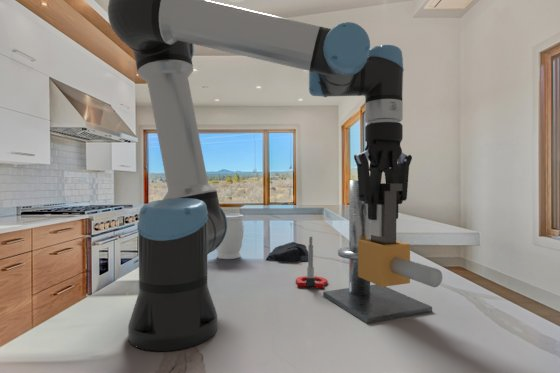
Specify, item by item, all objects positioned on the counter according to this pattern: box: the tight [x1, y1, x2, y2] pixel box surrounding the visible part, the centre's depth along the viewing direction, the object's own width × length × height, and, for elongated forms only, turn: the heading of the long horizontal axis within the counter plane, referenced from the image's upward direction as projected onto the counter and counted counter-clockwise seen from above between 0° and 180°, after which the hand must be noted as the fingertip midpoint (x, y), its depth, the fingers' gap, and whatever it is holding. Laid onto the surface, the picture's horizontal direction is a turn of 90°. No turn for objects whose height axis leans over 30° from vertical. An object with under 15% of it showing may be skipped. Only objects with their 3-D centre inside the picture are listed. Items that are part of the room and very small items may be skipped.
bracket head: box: [358, 239, 443, 288], centre depth 68 cm, size 7×18×8 cm, turn 22°
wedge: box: [371, 182, 402, 245], centre depth 73 cm, size 3×8×14 cm, turn 22°
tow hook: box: [295, 236, 328, 289], centre depth 91 cm, size 8×13×9 cm
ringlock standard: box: [322, 179, 433, 324], centre depth 76 cm, size 16×19×27 cm
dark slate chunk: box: [265, 241, 308, 263], centre depth 125 cm, size 15×22×5 cm
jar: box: [215, 213, 244, 260], centre depth 122 cm, size 11×10×15 cm
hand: (383, 234), depth 73 cm, fingers closed on wedge, 3 cm apart
